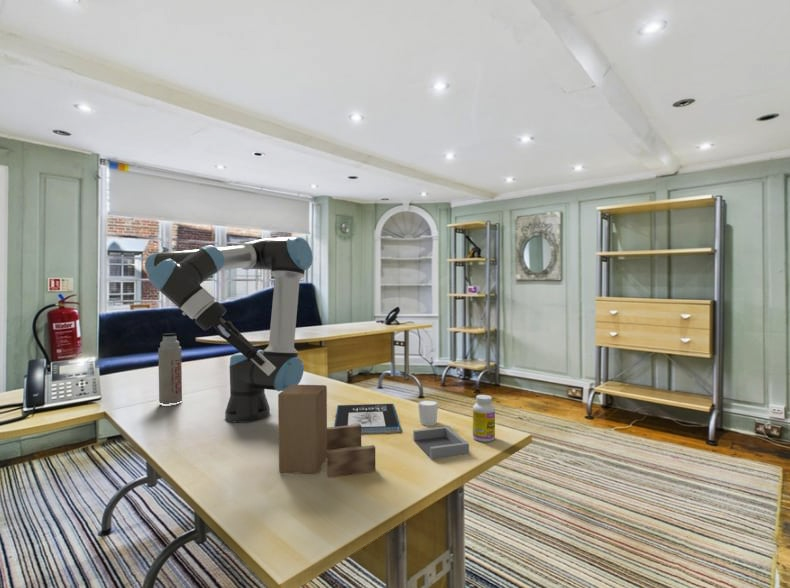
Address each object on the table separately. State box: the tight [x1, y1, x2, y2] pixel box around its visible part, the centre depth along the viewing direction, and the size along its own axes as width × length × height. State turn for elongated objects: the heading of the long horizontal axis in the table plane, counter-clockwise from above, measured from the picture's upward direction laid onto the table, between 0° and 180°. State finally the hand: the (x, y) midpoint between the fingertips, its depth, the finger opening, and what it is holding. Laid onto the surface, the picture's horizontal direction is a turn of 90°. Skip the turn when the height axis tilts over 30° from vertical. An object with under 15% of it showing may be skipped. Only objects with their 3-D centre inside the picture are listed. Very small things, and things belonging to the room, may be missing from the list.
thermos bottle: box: [157, 332, 183, 404], centre depth 162 cm, size 8×8×28 cm
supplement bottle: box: [472, 394, 496, 443], centre depth 125 cm, size 7×7×13 cm
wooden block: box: [277, 384, 328, 475], centre depth 107 cm, size 10×10×20 cm
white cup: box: [417, 399, 439, 427], centre depth 139 cm, size 7×7×7 cm
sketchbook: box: [333, 403, 402, 435], centre depth 144 cm, size 22×30×2 cm
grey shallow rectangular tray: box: [412, 426, 470, 460], centre depth 118 cm, size 11×14×3 cm
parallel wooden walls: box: [326, 424, 376, 478], centre depth 110 cm, size 12×18×6 cm, turn 17°
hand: (272, 371), depth 110 cm, fingers closed
